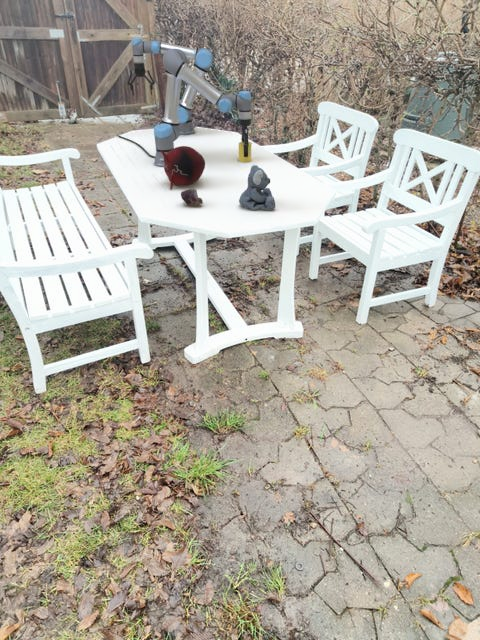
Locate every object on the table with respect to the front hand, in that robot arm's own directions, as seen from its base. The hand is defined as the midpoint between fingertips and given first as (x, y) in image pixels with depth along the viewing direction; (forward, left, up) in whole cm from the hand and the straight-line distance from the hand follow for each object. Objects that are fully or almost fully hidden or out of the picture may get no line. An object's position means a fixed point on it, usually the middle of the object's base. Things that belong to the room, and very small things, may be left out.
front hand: (244, 154), depth 298 cm
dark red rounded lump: (+6, -59, -4) cm, 59 cm away
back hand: (-106, +1, +27) cm, 110 cm away
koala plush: (+62, -59, -4) cm, 86 cm away
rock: (+35, -81, -4) cm, 88 cm away
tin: (0, 0, -4) cm, 4 cm away
